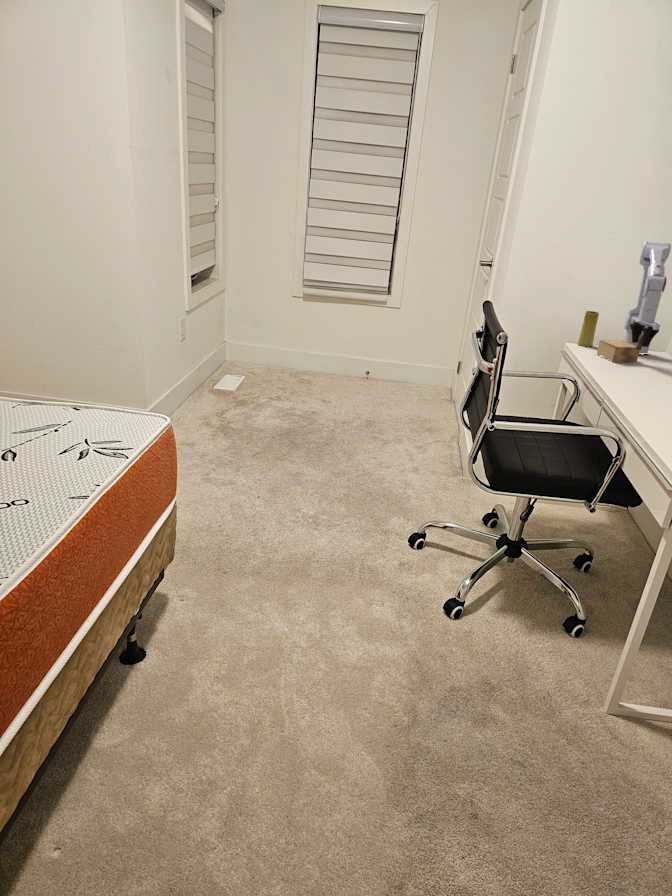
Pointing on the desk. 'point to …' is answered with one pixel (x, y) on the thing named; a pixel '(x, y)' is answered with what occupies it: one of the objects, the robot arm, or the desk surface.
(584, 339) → the vase
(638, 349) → the wooden paddle
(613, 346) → the carton
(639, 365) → the desk surface
